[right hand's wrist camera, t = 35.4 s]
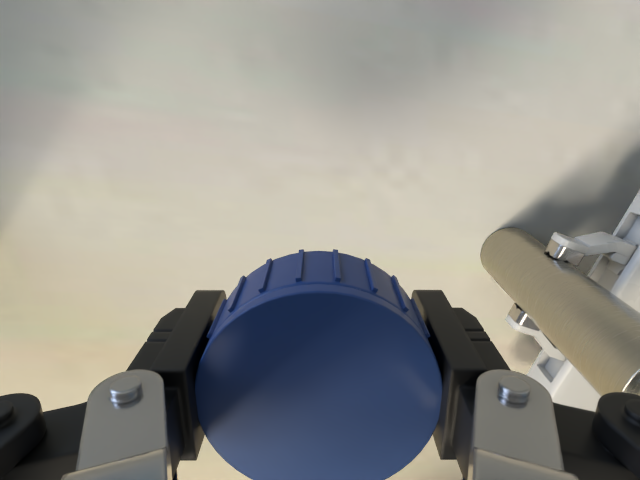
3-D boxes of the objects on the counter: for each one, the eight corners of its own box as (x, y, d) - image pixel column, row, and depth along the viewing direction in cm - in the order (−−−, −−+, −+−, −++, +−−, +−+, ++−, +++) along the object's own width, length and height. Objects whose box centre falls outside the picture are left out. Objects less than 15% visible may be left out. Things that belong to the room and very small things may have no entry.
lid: (415, 427, 12) (435, 499, 10) (222, 427, 12) (202, 499, 10) (431, 246, 10) (460, 288, 8) (204, 247, 10) (175, 288, 8)
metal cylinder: (471, 246, 36) (633, 417, 18) (519, 216, 35) (744, 365, 17) (495, 285, 38) (670, 484, 19) (542, 258, 37) (774, 438, 18)
